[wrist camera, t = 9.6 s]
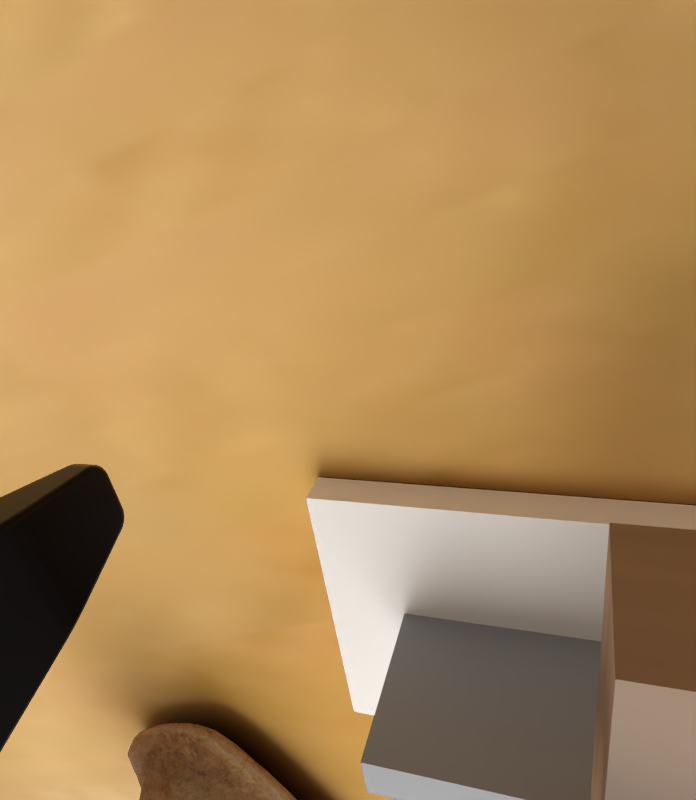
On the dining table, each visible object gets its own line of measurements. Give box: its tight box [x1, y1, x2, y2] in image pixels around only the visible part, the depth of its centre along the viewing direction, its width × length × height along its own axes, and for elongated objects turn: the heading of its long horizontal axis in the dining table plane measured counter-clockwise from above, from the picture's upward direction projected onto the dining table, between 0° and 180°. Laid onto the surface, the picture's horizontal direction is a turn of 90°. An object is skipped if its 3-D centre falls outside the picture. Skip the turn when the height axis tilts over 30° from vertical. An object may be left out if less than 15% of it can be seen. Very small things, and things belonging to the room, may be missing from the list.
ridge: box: [306, 477, 696, 800], centre depth 20 cm, size 22×12×7 cm, turn 99°
